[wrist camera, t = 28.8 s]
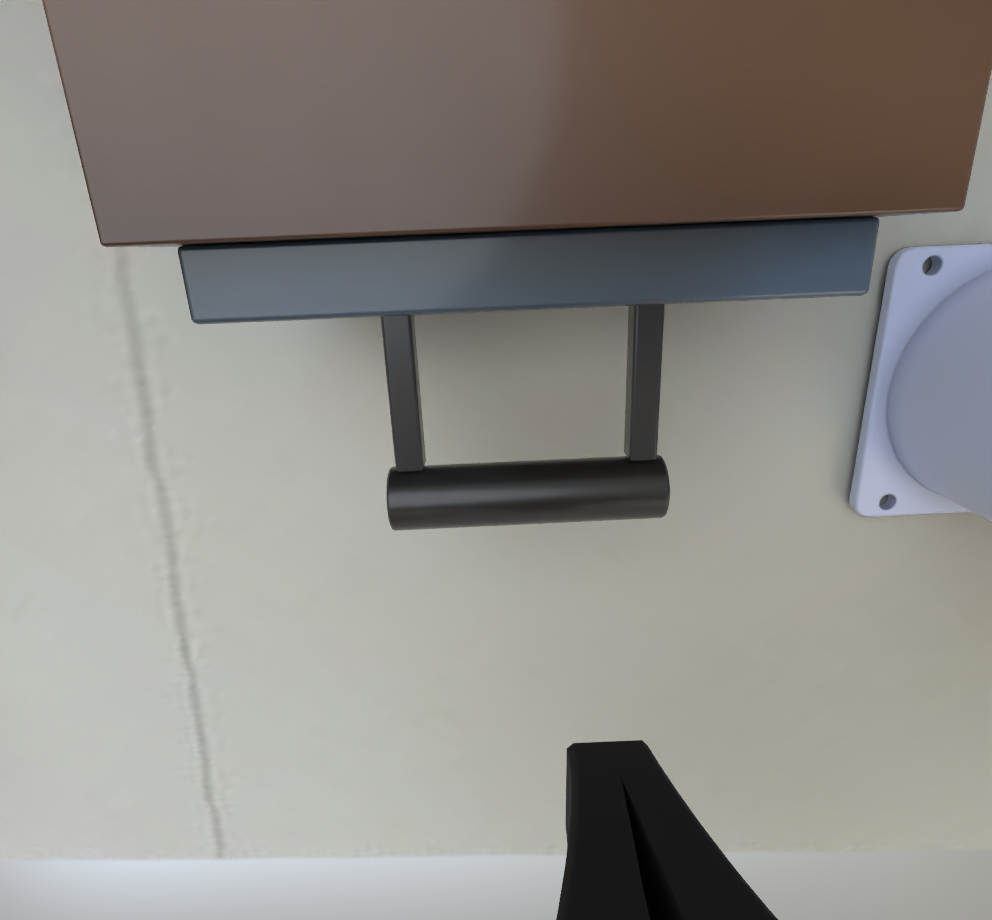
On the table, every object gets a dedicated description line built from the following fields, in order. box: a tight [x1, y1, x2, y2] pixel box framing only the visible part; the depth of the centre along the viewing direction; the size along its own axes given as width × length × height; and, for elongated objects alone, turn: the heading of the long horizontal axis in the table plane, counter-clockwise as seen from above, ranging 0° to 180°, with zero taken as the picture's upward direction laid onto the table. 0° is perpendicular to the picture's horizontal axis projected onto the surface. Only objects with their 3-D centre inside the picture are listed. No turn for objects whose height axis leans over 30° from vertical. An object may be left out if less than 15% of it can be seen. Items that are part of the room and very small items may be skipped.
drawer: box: [178, 216, 879, 530], centre depth 12 cm, size 18×11×7 cm, turn 2°
